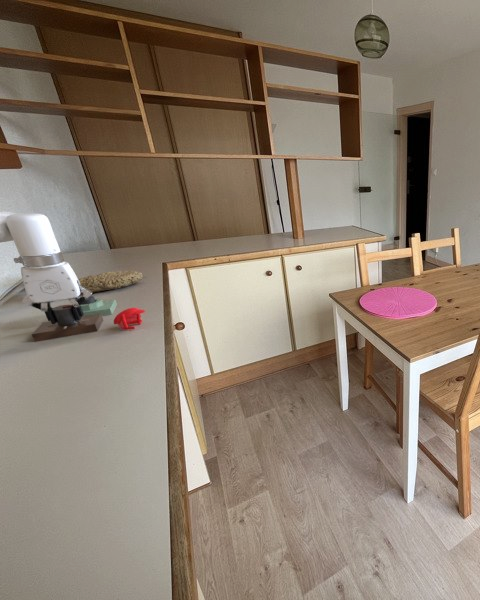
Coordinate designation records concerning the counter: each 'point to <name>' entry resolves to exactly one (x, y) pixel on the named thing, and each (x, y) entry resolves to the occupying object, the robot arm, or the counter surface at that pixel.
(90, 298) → the button
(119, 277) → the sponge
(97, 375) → the counter surface
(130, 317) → the red curved open piece
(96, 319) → the panel
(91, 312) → the button box
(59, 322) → the knob
